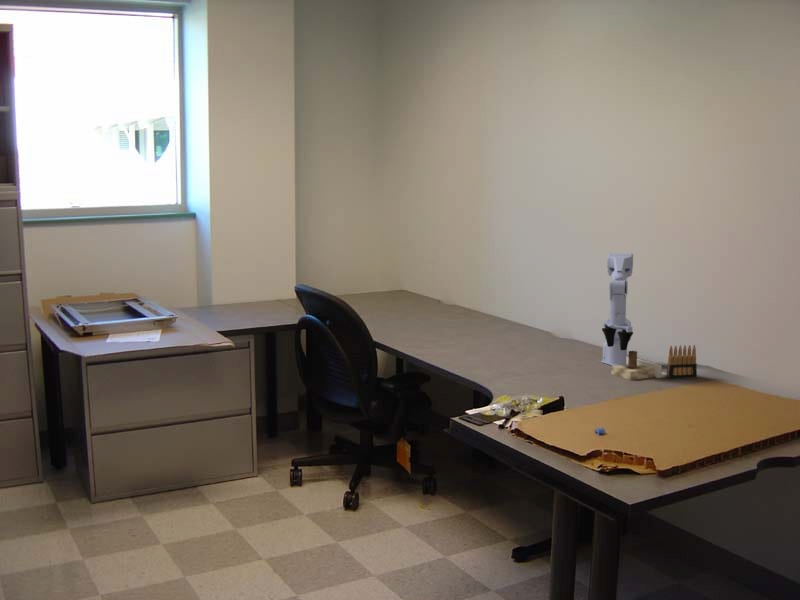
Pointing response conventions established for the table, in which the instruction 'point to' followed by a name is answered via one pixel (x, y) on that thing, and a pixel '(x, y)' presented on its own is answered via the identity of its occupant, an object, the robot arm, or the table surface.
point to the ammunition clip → (682, 363)
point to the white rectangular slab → (652, 365)
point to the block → (633, 372)
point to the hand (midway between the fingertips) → (616, 348)
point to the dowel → (632, 360)
